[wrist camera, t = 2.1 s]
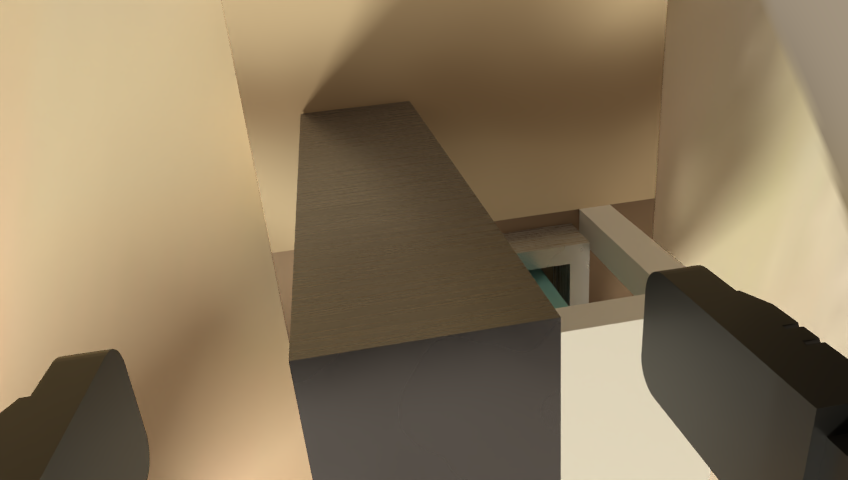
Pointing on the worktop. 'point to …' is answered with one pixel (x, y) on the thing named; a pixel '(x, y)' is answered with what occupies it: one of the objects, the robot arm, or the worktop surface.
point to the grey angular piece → (420, 311)
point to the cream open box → (617, 370)
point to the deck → (466, 101)
